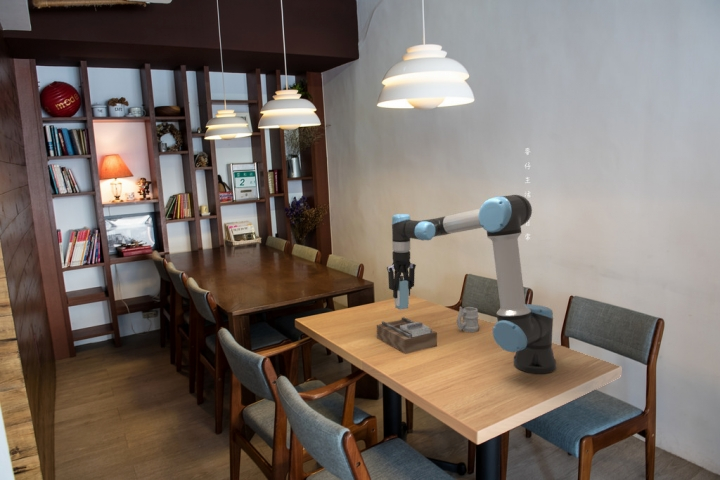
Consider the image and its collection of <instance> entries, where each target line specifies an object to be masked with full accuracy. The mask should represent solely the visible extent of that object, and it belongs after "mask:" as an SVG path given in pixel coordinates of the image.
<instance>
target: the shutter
mask: <svg viewBox="0 0 720 480" xmlns="http://www.w3.org/2000/svg"><path fill="white" fill-rule="evenodd" d="M413 322H414V323H409V324H405V325H400V330H402V331H404V332H406V333H408V334H410V335H411V337H415V336H420V335H424V334H429V333H430V329H431V327H430V326H428V325H425V324H424V323H423V322H418V321H413Z"/></svg>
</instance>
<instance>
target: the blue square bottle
mask: <svg viewBox="0 0 720 480" xmlns="http://www.w3.org/2000/svg"><path fill="white" fill-rule="evenodd" d="M398 291H399V292H400V306H397V305H395V304H394V305H395V306H394V307H395V308H396V309H398V310H400V311H402V310H406V309H409V304H408V281H407V280H404V277H403V275H400V280H399V286H398Z"/></svg>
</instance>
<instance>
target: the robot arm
mask: <svg viewBox="0 0 720 480" xmlns="http://www.w3.org/2000/svg"><path fill="white" fill-rule="evenodd" d="M532 208H533V207H532V204H531V202H530V201H529V200H528V199H527V198H526V197H525V196H522V195H520V194H511V195H510V194H509V195H502V196H494V197H491V198H489V199H487V200H485V201H484V202H483V203H482V205H481V206H480V208H476V209H472V210H468V211H463V212H458V213H455V214H450V215H446V216H445V215H444V216H440V217H435V218H430V219H423V220H414V219H411V215H410V214H408V213H397V214H394V215H392V216H391V217H392V221H391V231H392V235H391V236H392V238H391V239H392V243H391V244H392V264H391V265H390V266H386V270H387V272H388V273H387V275H388V276H387V277H388V290H391V291H392V298H393V299H394V305H397V306H400V292H399V291H398V286H399V280H400V276H403V279H404V280H407V281H408V305H410V296H411V290H412V288H414V287H415V273H416V272H415V270H416V266H417V264H415V263H411V239H412V240H413V239H414V240H420V241H431V240H432V239H433V238H434V237H441V236H446V235H451V234H454V233H455V234H456V233H461V232H467V231H471V230H477V229H481V228H483V230H484V231H486V235H487V238H488V239H489V240H490V241H491V242H492V243H491V244H492V251H493V258H494V264H495V265H494V266H495V273H496V283H497V289H498V298H499V307H500V308H499V309H498V310H497V312H496V320H497V322H496V323H495V324H494V325H493V327H492V337H493V339H494V342H495V343H496V344H497V346H499V347H500V348H501V350H504V351H506V352H509V353H514V354H515V355H514V356H513V366H514V367H515V368H516V369H518V370H520V371H522V372H525V373H529V374H537V375H538V374H539V375H540V374H542V375H543V374H550V373H552V372H554V371H556V369H557V361H556V358H555V356H554V351H553V347H552V346H553V344H552V343H553V342H552V341H553V328H554V327H553V326H554V317H553V314H554V312H553V310H552V309H551V308H549V307H547V306H543V305H540V304H539V305H538V304H530V303H529V304H526V300H525V291H524V290H525V289H524V283H523V282H524V281H523V280H524V279H523V273H522V264H521V257H520V248H519V247H520V246H519V241H518V240H519V237H520V236H521V234H522V226H524V225H525V224H526V223H528V221H530V219H531V217H532V213H533V209H532Z"/></svg>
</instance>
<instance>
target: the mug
mask: <svg viewBox="0 0 720 480" xmlns="http://www.w3.org/2000/svg"><path fill="white" fill-rule="evenodd" d="M478 313H479V310H478V308H476V307H474V306H466V307H465V306H464V308H463V307H462V306H459V311H458V314H457V318H456V326H457V328H458V331H462V332H466V333H476V332H478V331H479V327H480V325H479V314H478Z"/></svg>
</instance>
